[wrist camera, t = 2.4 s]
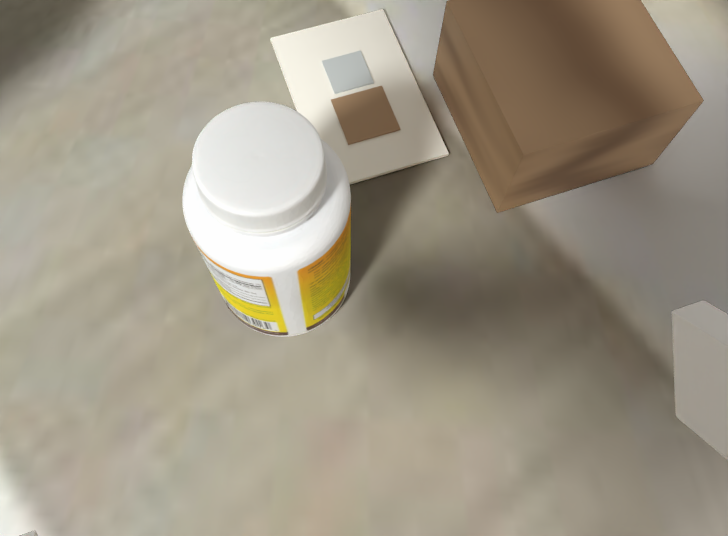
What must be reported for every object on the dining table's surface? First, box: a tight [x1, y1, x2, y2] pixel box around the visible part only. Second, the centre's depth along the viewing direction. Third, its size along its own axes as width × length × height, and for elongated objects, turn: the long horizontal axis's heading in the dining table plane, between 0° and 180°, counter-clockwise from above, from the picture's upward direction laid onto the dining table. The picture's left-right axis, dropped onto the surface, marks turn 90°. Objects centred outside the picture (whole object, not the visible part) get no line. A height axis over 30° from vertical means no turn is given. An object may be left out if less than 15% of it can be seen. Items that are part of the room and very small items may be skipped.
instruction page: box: [270, 9, 449, 185], centre depth 33 cm, size 6×9×1 cm, turn 19°
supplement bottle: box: [182, 102, 351, 337], centre depth 25 cm, size 6×6×10 cm
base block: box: [433, 0, 704, 213], centre depth 31 cm, size 8×8×5 cm
